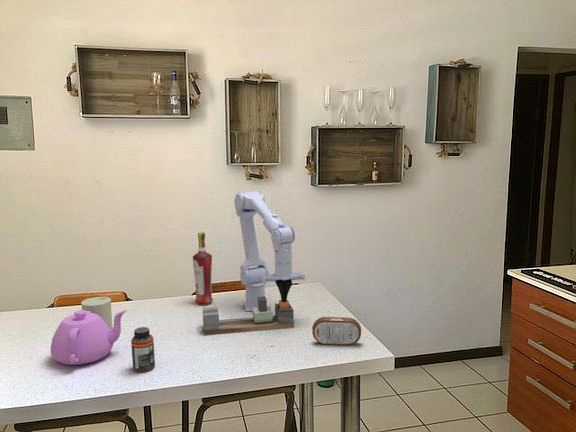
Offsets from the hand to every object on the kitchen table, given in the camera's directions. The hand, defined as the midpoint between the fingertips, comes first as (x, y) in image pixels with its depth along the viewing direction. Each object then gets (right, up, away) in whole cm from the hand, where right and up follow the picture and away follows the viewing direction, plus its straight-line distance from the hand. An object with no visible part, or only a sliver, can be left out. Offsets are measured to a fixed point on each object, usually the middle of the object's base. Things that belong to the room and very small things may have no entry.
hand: (283, 301), depth 168 cm
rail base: (-12, -8, -1) cm, 15 cm away
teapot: (-57, -12, -23) cm, 62 cm away
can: (-61, -10, -7) cm, 62 cm away
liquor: (-32, -5, +24) cm, 40 cm away
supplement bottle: (-39, -13, -32) cm, 52 cm away
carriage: (-7, -6, 0) cm, 10 cm away
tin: (+16, -11, -17) cm, 26 cm away
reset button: (0, -3, +1) cm, 4 cm away
